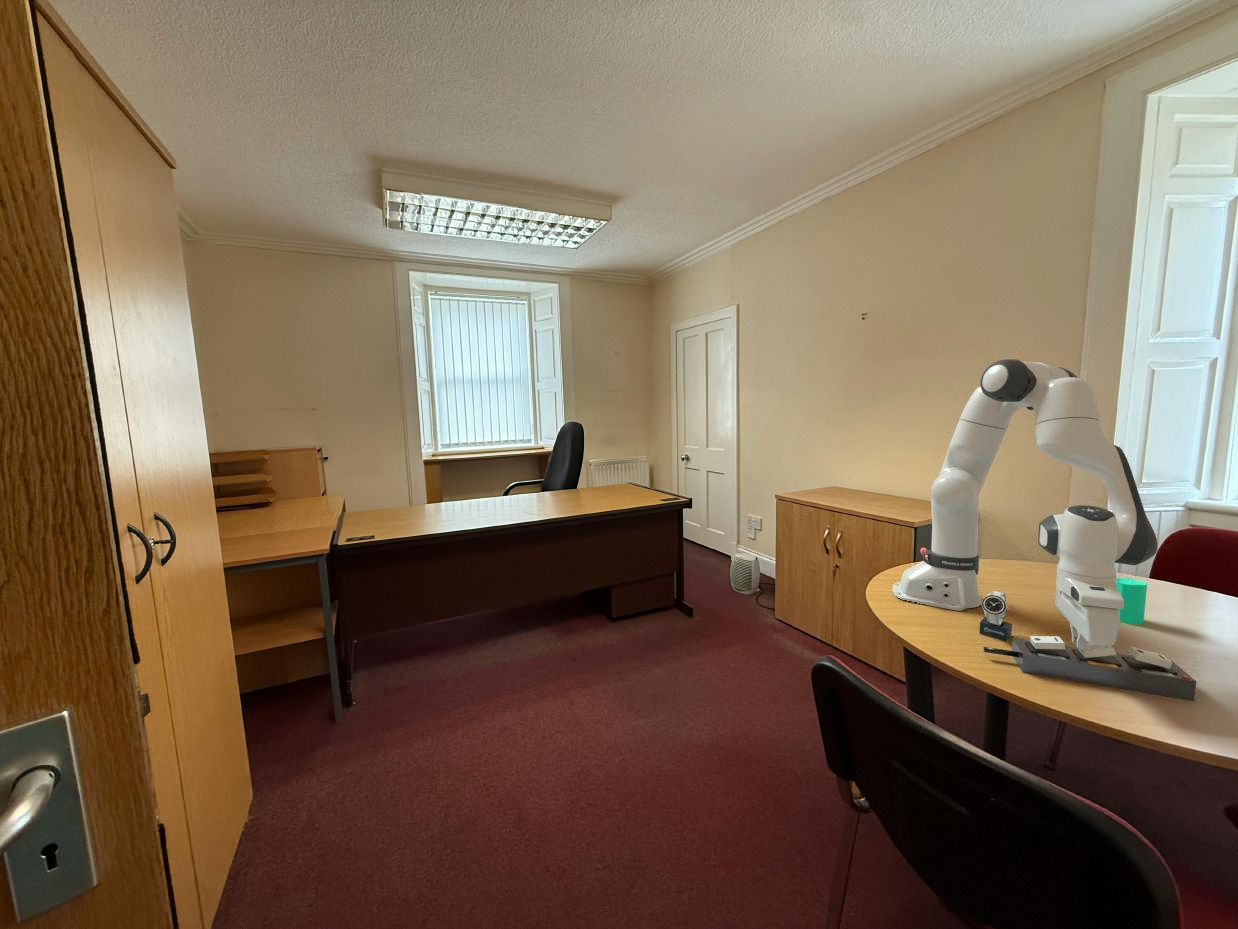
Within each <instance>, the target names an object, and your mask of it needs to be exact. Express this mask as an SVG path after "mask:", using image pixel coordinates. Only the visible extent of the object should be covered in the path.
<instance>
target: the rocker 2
mask: <svg viewBox="0 0 1238 929" xmlns="http://www.w3.org/2000/svg"><path fill="white" fill-rule="evenodd" d="M1079 651H1080V652H1081V654H1082V655H1083V656H1084V657H1085V658H1090V657H1100V656H1110V655H1116V653H1117V652H1116V650H1115V648H1114V646H1112V647H1105V646H1098V645H1092V644H1089V650H1088V651H1084V650H1079Z"/></svg>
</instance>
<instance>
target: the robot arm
mask: <svg viewBox="0 0 1238 929" xmlns="http://www.w3.org/2000/svg"><path fill="white" fill-rule="evenodd" d="M979 384H980V386H977V387H976V389H975V390H974V391H973V393H972V394H971V396H970V397H969V399H968V401H967V402H966V405H965V406H964V408H963V411H962V412H961V414H960V417H959V419H958V422H957V425H956V428H955V429H954V432H953V435H952V437H951V440H950V442H949V445H948V449H947V451H946V455H945V457H944V460H943V463H942V466H941V468H940V472H939V474H938V476H937V477H936V478H935V479H934V480H933V482H932V484H931V487H930V504H931V505H930V506H931V507H930V508H931V522H932V523H931V526H932V529H931V547H930V549H927V547H926V548H925V547H921V548H920V554H921V556H922V561H920V562H918V563H916V564H914V565H913V566H911V567H908V568H906V569H905V570H904V572H902V576H901V578H900V581H897V582H895V583H894V584H892V589H891V590H892V591H893V592H892V594H893V593H894V594H893V596H894V595H895V596H894V597H896V596H897V597H898V598H900V599H902V600H901V601H903V600H907V601H906V602H908V601H912V602H911V603H914V602H917V603H916V604H919V603H920V604H921V605H924V604H925V606H932V607H936V608H941V609H947V610H951V611H956V612H957V611H959V612H961V611H964V610H966V609H972V608H977V607H981V606H982V599H981V596H980V590H979V584H978V574H979V571H980V570H979V569H980V558H979V557H980V556H979V554H978V546H979V545H978V542H979V502H980V501H979V499H980V493H981V491H982V488H983V486H984V484H985V481H986V479H987V476H988V474H989V472H990V470H991V467H992V465H993V463H994V460H995V458H996V455H997V453H998V451H999V450H1000V446H1001V445H1002V441H1003V439H1004V437H1005V434H1006V432H1007V430H1008V428H1009V425H1010V422H1011V420H1012V417H1013V416H1014V414H1015V413H1016V412H1017V411H1018V410H1020V409H1022V408H1026V409H1027V410H1029V411H1034V434H1035V440H1036V445H1037V447H1038V449H1039V450H1040V451H1041V452H1042V453H1043V454H1044V455H1045V456H1046V457H1049V459H1052V460H1054V461H1056V462H1059V463H1062V464H1064V465H1069V466H1071V467H1075V468H1079V469H1082V470H1084V471H1087V472H1090V473H1091V474H1094V475H1095V476H1096V477H1098V478H1099V479H1100V480H1101V482H1102V483H1103V485H1104V488H1105V492H1106V495H1107V499H1108V500H1109V504H1110V507H1111V510H1109V509H1106V508H1103V507H1098V506H1096V505H1095V506H1093V505H1084V504H1083V505H1081V504H1079V505H1072V506H1069V507H1067V508H1066V509H1065V510H1064V511H1063V513H1059V514H1051V515H1049V516H1047V517H1045V518H1044V519H1042V520H1041V521H1040V522H1039V523H1038V524H1039V525H1038V535H1037V536H1038V537H1037V538H1038V540H1037V541H1038V542H1037V544H1038V545H1039V547H1040V548H1042V549H1043V550H1044V551H1045V552H1047V553H1048V554H1049V555H1052V556H1056V557H1059V561H1058V563H1057V566H1056V579H1055V580H1056V583H1055V588H1056V591H1055V599H1054V600H1055V601H1054V604H1055V608H1056V609H1057V610H1058V611H1059V613H1060V614H1061V615H1062V616H1064V618H1065V619H1066V620H1067V621H1068V622H1069V627H1070V632H1071V642H1072V644H1074V646H1075V647H1077V648H1078V649H1079V650H1084V651H1088V650H1089V644H1092V645H1098V646H1105V647H1114V645H1115V643H1116V642H1117V639H1118V632H1119V625H1120V622H1119V618H1120V616H1119V611H1118V609H1123V608H1124V599H1123V598H1122V596H1121V594H1120V593H1119V591H1118V588H1117V584H1116V578H1117V570H1116V568H1115V567H1116V566H1115V564H1119V565H1121V564H1123V565H1127V566H1137V565H1140V564H1142V563H1145V562H1147V561H1148V560H1150V559H1151V558H1153V557H1154V556H1155V555H1156V554H1157V553H1158V552H1157V551H1158V538H1157V536H1156V533H1155V530H1154V528H1153V526H1152V524H1151V522H1150V521H1149V518H1148V516H1147V514H1146V511H1145V508H1144V505H1143V502H1142V499H1141V496H1140V492H1139V489H1138V486H1137V483H1136V479H1135V477H1134V474H1133V472H1132V468H1131V466H1130V463H1129V460H1128V458H1127V456H1126V454H1125V452H1124V451H1123V449H1122V448H1121V447H1120V446H1118V445H1116V444H1112V443H1111V441H1109V439H1108V438H1107V437H1106V435H1105V434H1104V433H1103V431H1102V428H1101V423H1100V422H1101V421H1100V414H1099V407H1098V401H1097V398H1096V395H1095V392H1094V389H1093V387H1092V385H1091V383H1089V382H1088V381H1087V380H1085V379H1083V378H1081V377H1080V378H1079V377H1078V376H1077V375H1076V374H1075V373H1073V372H1072V371H1071V370H1068V369H1066V368H1064V367H1061V366H1060V367H1059V366H1054V365H1051V364H1048V363H1044V362H1039V361H1036V362H1034V361H1027V360H1026V361H1025V360H1020V359H1012V358H1010V359H1008V358H1007V359H999V360H997V361H994V362H992V363H991V364H989V365H988V367H986V369H985V370H984V371H983V373H982V375H981V377H980V382H979ZM897 597H896V598H897ZM898 598H897V599H898ZM900 599H899V600H900Z"/></svg>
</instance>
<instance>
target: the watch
mask: <svg viewBox="0 0 1238 929" xmlns="http://www.w3.org/2000/svg"><path fill="white" fill-rule="evenodd" d="M981 601H982V604H981V607H982V610H983V613H984V617H983V618H982V619H981V620H980V622H979V633H978V634H980V635H983V636H986V637H990V638H994V639H997V640H1001V641H1004V642H1007V641H1009V639H1010V638H1011V637H1012V634H1013V633H1012V629H1013V623H1011V622H1008V621H1007V622H1006V621H1003V620H1004V619H1005V616H1006V612H1007V611H1010V607H1009V606H1008V605H1007V595H1006V593H1005V592H1000V591H997V590H992V591H991V592H989V593H988V594H987V595H985V597H983V599H981Z"/></svg>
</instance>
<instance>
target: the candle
mask: <svg viewBox="0 0 1238 929" xmlns="http://www.w3.org/2000/svg"><path fill="white" fill-rule="evenodd" d="M1116 584H1117V588H1118V591H1119V593H1120V594H1121V596H1122V598H1123V599H1124V608H1123V609H1118V611H1119V616H1120V618H1119V623H1124V624H1127V625H1134V626H1135V625H1137V626H1138V625H1139V626H1140V625H1144V623H1145V611H1146V601H1147V600H1146V599H1147V592H1148V591H1147V590H1148V583H1147V582H1145V581H1141V580H1135V579H1132V575H1131V574H1130V576H1129V577H1116Z"/></svg>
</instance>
